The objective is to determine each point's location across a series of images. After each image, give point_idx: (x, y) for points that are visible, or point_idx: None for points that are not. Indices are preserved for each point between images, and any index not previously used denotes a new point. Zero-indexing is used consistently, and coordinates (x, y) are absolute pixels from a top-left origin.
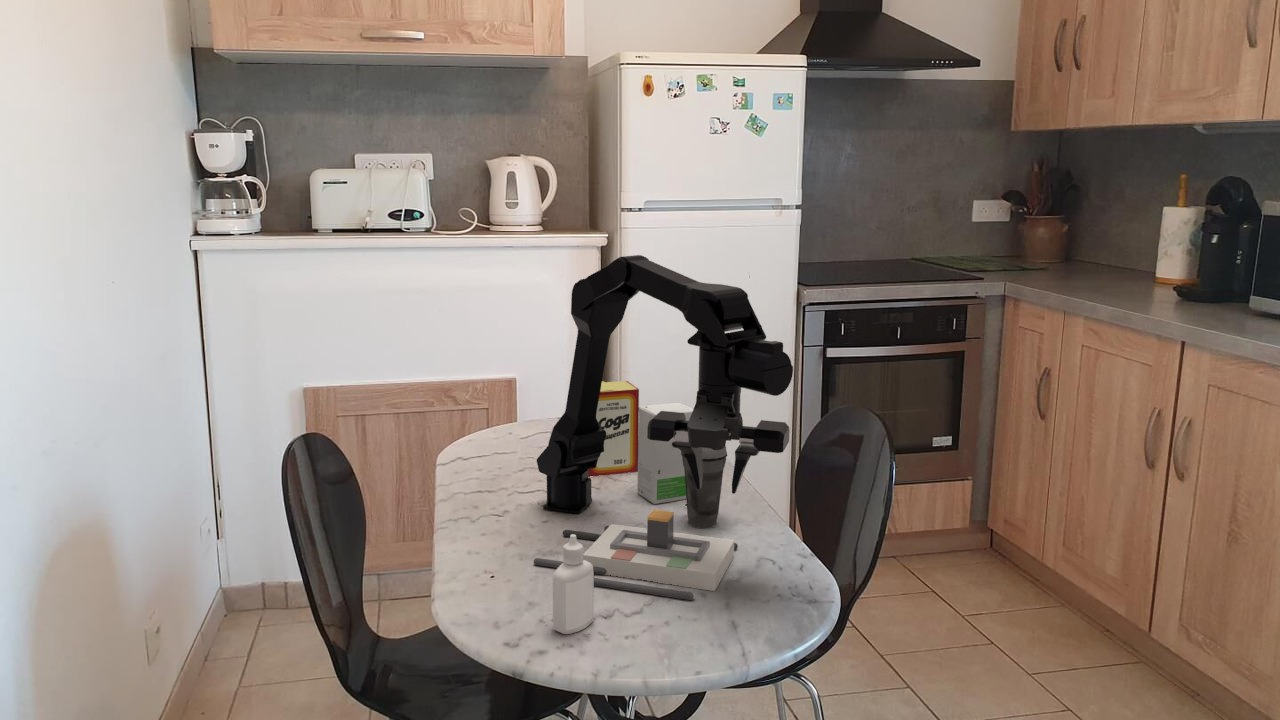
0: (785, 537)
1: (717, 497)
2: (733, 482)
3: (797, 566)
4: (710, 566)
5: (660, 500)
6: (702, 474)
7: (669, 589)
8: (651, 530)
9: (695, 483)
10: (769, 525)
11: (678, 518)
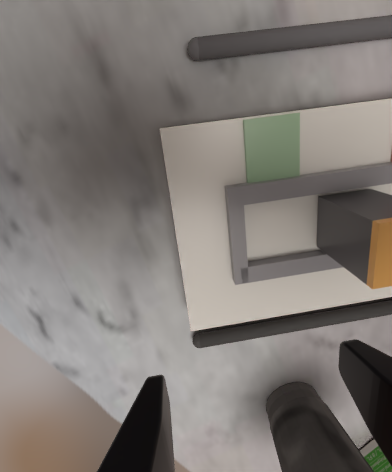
0: None
1: (285, 462)
2: (147, 432)
3: (50, 325)
4: (188, 168)
5: None
6: (382, 448)
7: (255, 39)
8: None
9: (388, 355)
10: (175, 445)
11: (337, 398)
